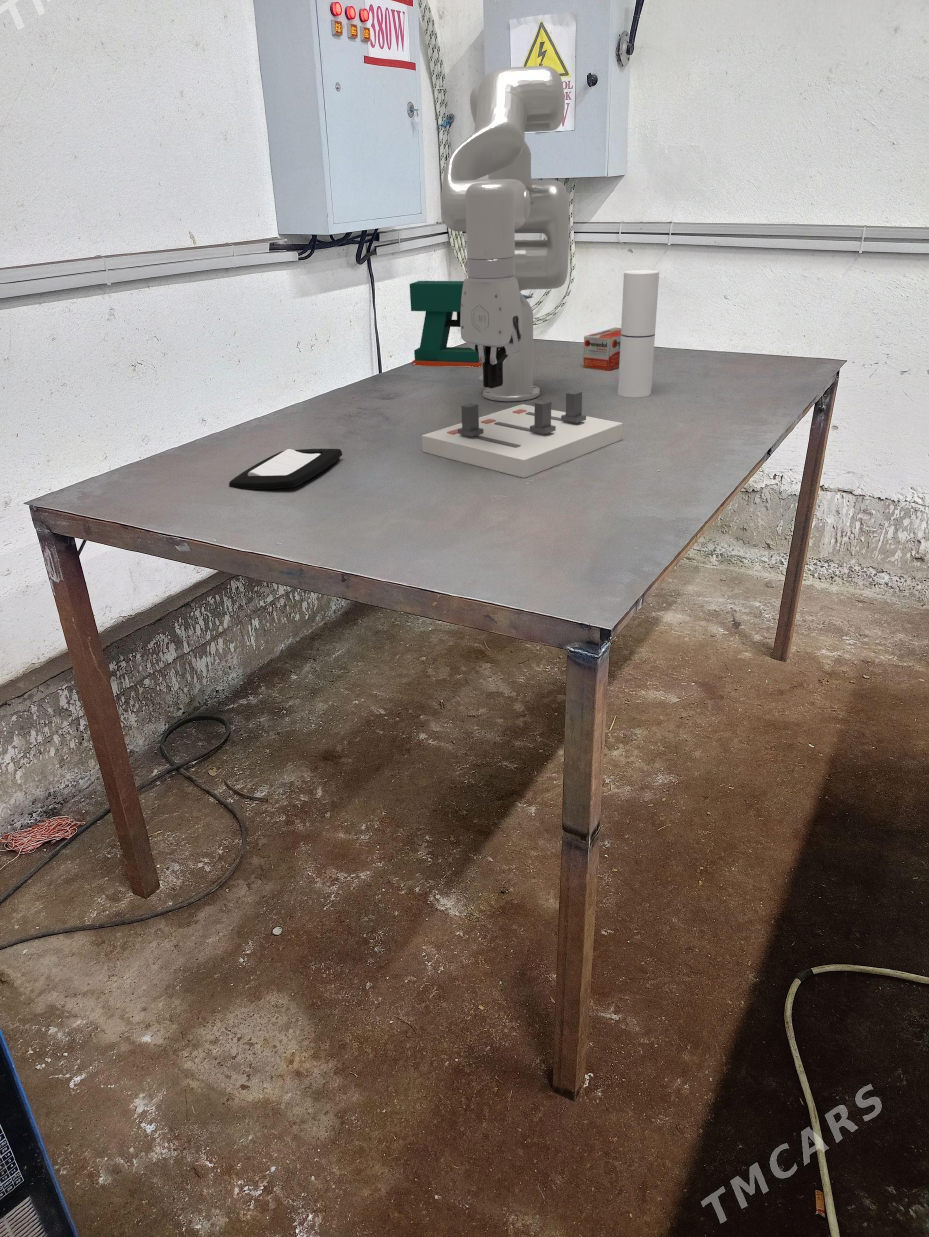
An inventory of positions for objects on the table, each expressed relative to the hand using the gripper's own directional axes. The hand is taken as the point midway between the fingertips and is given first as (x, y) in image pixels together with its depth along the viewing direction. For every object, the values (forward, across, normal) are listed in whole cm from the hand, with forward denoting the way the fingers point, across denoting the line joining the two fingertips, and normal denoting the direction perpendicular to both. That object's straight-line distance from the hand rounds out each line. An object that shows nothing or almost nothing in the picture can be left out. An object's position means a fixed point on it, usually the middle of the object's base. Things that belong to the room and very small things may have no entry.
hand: (493, 386), depth 144 cm
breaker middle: (+9, +4, +9) cm, 13 cm away
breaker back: (+9, +4, +18) cm, 20 cm away
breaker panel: (+12, -1, +9) cm, 15 cm away
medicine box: (+14, -29, +77) cm, 84 cm away
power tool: (+14, -58, +57) cm, 82 cm away
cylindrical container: (+13, -7, +54) cm, 56 cm away
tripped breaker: (+9, -5, 0) cm, 10 cm away
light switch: (+13, -23, -28) cm, 38 cm away
